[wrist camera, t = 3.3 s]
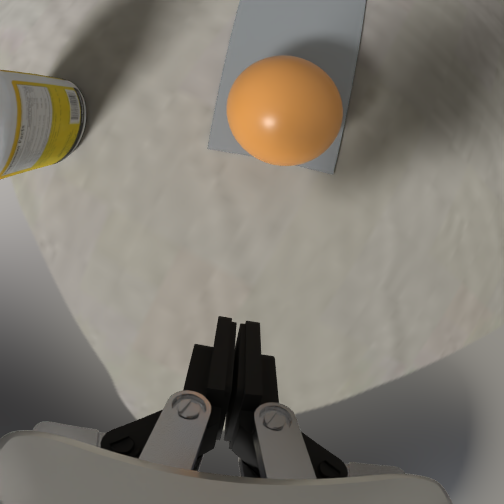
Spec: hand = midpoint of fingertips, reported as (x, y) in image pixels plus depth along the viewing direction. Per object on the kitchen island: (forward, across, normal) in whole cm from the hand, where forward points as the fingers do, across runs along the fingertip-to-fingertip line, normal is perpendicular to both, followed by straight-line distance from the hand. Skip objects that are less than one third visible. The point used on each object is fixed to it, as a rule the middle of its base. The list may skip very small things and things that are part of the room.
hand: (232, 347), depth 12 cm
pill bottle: (+10, +15, -8) cm, 20 cm away
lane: (+9, -1, -18) cm, 20 cm away
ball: (+6, -1, -10) cm, 12 cm away
